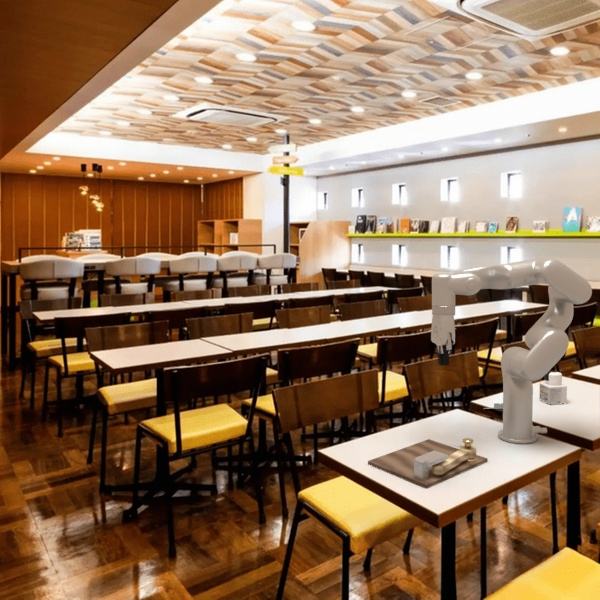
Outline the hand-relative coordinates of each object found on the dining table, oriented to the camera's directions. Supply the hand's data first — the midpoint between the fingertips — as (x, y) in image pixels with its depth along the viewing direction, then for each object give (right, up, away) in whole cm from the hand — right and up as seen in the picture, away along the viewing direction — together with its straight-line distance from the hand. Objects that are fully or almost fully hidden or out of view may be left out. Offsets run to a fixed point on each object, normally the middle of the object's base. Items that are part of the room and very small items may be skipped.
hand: (443, 364), depth 186 cm
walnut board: (-9, -29, -14) cm, 33 cm away
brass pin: (+4, -29, -13) cm, 32 cm away
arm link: (-2, -27, -20) cm, 34 cm away
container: (+58, -21, +46) cm, 77 cm away
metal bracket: (+34, -24, +34) cm, 54 cm away
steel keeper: (-10, -29, -25) cm, 39 cm away
